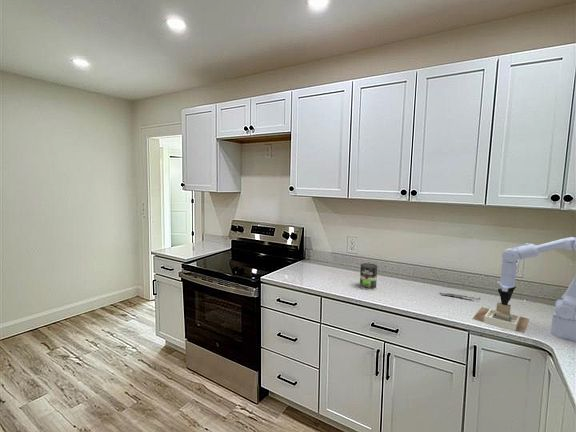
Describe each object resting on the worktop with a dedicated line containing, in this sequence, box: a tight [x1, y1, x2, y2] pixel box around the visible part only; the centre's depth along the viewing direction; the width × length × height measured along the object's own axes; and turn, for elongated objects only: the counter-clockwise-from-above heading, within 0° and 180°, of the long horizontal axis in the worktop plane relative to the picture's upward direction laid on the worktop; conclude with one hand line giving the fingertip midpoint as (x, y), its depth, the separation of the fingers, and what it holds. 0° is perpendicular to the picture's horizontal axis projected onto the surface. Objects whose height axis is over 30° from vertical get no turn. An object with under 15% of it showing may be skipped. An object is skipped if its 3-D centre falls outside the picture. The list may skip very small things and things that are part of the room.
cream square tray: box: [483, 308, 521, 332], centre depth 145 cm, size 12×12×3 cm
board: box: [471, 306, 530, 334], centre depth 149 cm, size 20×20×1 cm
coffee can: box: [359, 262, 378, 291], centre depth 193 cm, size 10×10×14 cm
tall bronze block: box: [495, 301, 512, 319], centre depth 145 cm, size 2×5×8 cm, turn 47°
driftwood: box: [440, 292, 481, 302], centre depth 179 cm, size 21×7×2 cm, turn 59°
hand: (505, 302), depth 146 cm, fingers open, 7 cm apart
